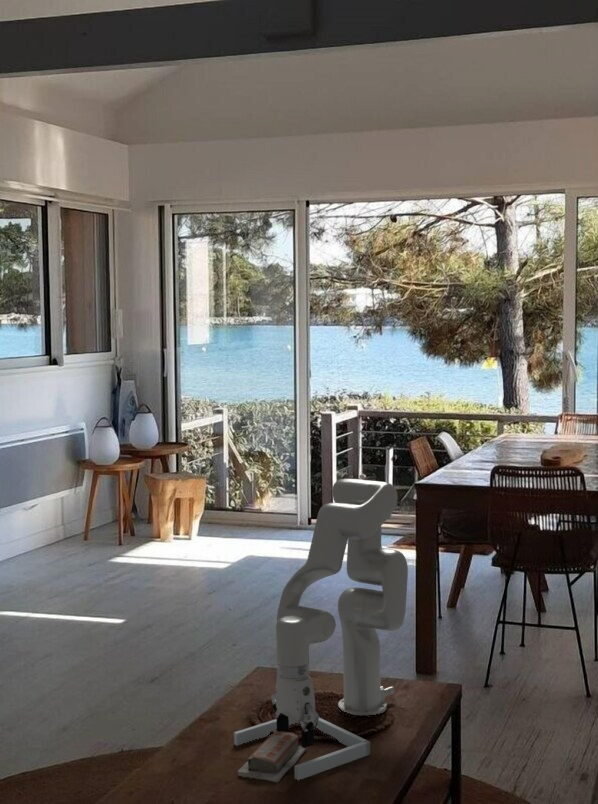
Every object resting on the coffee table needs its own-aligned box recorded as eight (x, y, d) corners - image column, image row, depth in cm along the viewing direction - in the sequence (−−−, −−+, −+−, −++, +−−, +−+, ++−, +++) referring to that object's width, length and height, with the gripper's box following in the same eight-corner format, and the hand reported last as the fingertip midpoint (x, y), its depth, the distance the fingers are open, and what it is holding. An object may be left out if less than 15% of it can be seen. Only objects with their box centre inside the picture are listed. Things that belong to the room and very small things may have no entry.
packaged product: (267, 727, 269) (306, 732, 265) (268, 746, 269) (306, 751, 266) (236, 757, 252) (277, 763, 249) (237, 778, 253) (278, 784, 249)
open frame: (304, 721, 283) (304, 710, 282) (370, 754, 263) (370, 741, 262) (234, 744, 270) (234, 732, 270) (298, 780, 250) (297, 767, 250)
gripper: (329, 675, 258) (330, 747, 260) (284, 656, 272) (286, 724, 274) (303, 683, 254) (305, 755, 256) (258, 663, 268) (261, 732, 270)
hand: (295, 739), depth 265 cm, fingers open, 9 cm apart
